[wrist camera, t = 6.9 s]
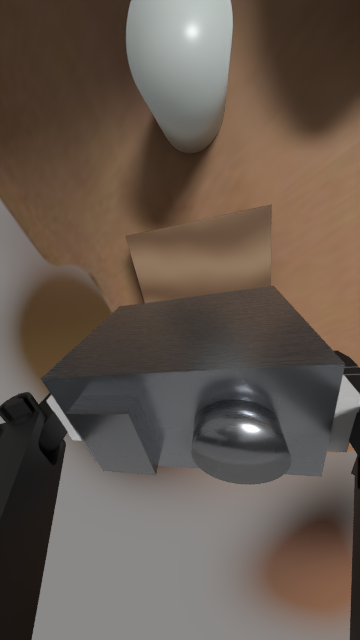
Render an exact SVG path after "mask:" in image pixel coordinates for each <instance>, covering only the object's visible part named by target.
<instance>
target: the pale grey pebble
mask: <svg viewBox="0 0 360 640" xmlns="http://www.w3.org/2000/svg"><path fill="white" fill-rule="evenodd" d="M232 31H233V16H232V5H231V0H131V2H130V6H129V11H128V17H127V26H126V48H127V56H128V62H129V66H130V70H131V74H132V76H133V79H134V82H135V84H136V86H137V88H138V90H139V92H140V93H141V95H142V97H143V98H144V100H145V102H146V104H147V105H148V107H149V109H150V111H151V112H152V114H153V116H154V117H155V119H156V121H157V123H158V124H159V126H160V128H161V130H162V131H163V133H164V135H165V137H166V138H167V140H168V141H169V143H170V144H171V145H172V146H173V147H174V148H175V149H177V150H179V151H181V152H184V153H196V152H199V151H201V150H203V149H205V148H206V147H207V146H208V145H209V144H210V143H211V142H212V141H213V140H214V139H215V137H216V136H217V134H218V132H219V130H220V127H221V125H222V121H223V118H224V112H225V102H226V92H227V82H228V72H229V62H230V52H231V42H232Z"/></svg>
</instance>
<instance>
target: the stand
mask: <svg viewBox="0 0 360 640" xmlns="http://www.w3.org/2000/svg"><path fill="white" fill-rule="evenodd" d="M271 213H272V205H268V206H263V207H258V208H254V209H249V210H244V211H240V212H235V213H231V214H226V215H221V216H217V217H212V218H207V219H203V220H198V221H193V222H189V223H184V224H180V225H175V226H170V227H166V228H161V229H156V230H152V231H147V232H142V233H138V234H133V235H129V236H126V239H127V243H128V246H129V250H130V253H131V257H132V260H133V264H134V267H135V271H136V274H137V278H138V281H139V285H140V288H141V291H142V295H143V298H144V302H145V303H149V302H156V301H164V300H171V299H179V298H186V297H193V296H201V295H208V294H215V293H223V292H230V291H238V290H245V289H252V288H260V287H267V286H271Z"/></svg>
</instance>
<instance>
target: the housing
mask: <svg viewBox="0 0 360 640" xmlns="http://www.w3.org/2000/svg"><path fill="white" fill-rule="evenodd" d="M344 368H345V363H344V362H343V361H342V360H341V359H340V358H339V357H338V356H337V354H336V353H335V352H334V351H333V350H332V349H331V348H330V347H329V346H328V345H327V344H326V342H325V341H324V340H323V339H322V338H321V337H320V336H319V335H318V334H317V333H316V332H315V330H314V329H313V328H312V327H311V326H310V325H309V324H308V323H307V322H306V321H305V320H304V318H303V317H302V316H301V315H300V314H299V313H298V312H297V311H296V310H295V309H294V308H293V306H292V305H291V304H290V303H289V302H288V301H287V300H286V299H285V298H284V297H283V296H282V294H281V293H280V292H279V291H278V290H277V289H276V288H275V287H274V286H267V287H260V288H252V289H245V290H238V291H230V292H223V293H215V294H208V295H201V296H193V297H186V298H179V299H171V300H164V301H156V302H149V303H142V304H134V305H127V306H120V307H118V308H117V309H116V310H115V311H114V312H113V313H112V314H111V315H110V316H109V317H108V318H106V319H105V320H104V321H103V322H102V323H101V324H100V325H99V326H98V327H97V328H96V329H94V330H93V331H92V332H91V333H90V334H89V335H88V336H87V337H86V338H85V339H84V340H82V341H81V342H80V343H79V344H78V345H77V346H76V347H75V348H74V349H72V351H70V352H69V353H68V354H67V355H66V356H65V357H64V358H63V359H62V360H60V361H59V362H58V363H57V364H56V365H55V366H54V367H53V368H52V369H50V371H48V372H47V373H46V374H45V375H44V376H43V377H42V378H41V379H42V381H43V383H44V384H45V386H46V387H47V389H48V390H49V392H50V393H51V395H52V396H53V398H54V399H55V401H56V402H57V404H58V405H59V407H60V408H61V410H62V411H63V413H64V414H65V416H66V417H67V419H68V420H69V422H70V423H71V425H72V426H73V428H74V429H75V431H76V432H77V434H78V435H79V437H80V438H81V440H82V441H83V443H84V445H85V446H86V448H87V449H88V451H89V452H90V454H91V455H92V457H93V458H94V460H95V461H97V462H98V463H99V465H100V466H101V468H102V469H103V471H112V472H125V473H137V474H151V475H156V473H157V468H158V466H173V467H174V466H175V467H188V468H200V469H202V470H203V471H204V472H206V473H207V474H209V475H211V476H213V477H215V478H218V479H220V480H223V481H227V482H231V483H237V484H261V483H266V482H270V481H273V480H275V479H277V478H279V477H281V476H282V475H284V474H290V475H306V476H322V471H323V467H324V462H325V457H326V452H327V448H328V443H329V438H330V434H331V429H332V424H333V419H334V415H335V410H336V405H337V401H338V396H339V391H340V386H341V382H342V377H343V372H344Z"/></svg>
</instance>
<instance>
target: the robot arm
mask: <svg viewBox="0 0 360 640" xmlns="http://www.w3.org/2000/svg"><path fill="white" fill-rule="evenodd" d="M334 352H335V353H336V354H337V356H338V357H339V358H340V359H341V360H342V361H343V362H344V363H345V368H344V372H343V377H342V382H341V386H340V391H339V396H338V401H337V405H336V410H335V415H334V419H333V424H332V429H331V434H330V438H329V443H328V448H327V451H333V452H347V449H348V446H349V443H351V445H352V447H353V448H354V450H355V451H356V453H357V458H356V461H355V464H354V466H353V470H352V473H351V474H353V475H355V489H354V522H353V553H352V554H353V555H352V556H353V557H352V585H351V619H350V640H360V368H358V365H357V364H356V363H355V362H354V361H353V360H352V359H351V358H350V357H348V356H346V355H344V354H343V353H341V352H339V351H334ZM0 416H1V417H2V418H3V420H4V421H5V422H6V423H3V424H0V640H31V639H32V634H33V628H34V622H35V616H36V611H37V605H38V600H39V594H40V588H41V583H42V577H43V571H44V566H45V560H46V555H47V548H48V543H49V537H50V531H51V526H52V520H53V515H54V509H55V504H56V498H57V492H58V487H59V481H60V475H61V469H62V464H63V458H64V453H65V447H66V443H65V441H64V440H63V438H64V437H65V435H66V434H67V432H68V434H69V435H70V437H71V438H72V440H81V438H80V437H79V435H78V434H77V432H76V431H75V429H74V428H73V426H72V425H71V423H70V422H69V420H68V419H67V417H66V416H65V414H64V413H63V411H62V410H61V408H60V407H59V405H58V404H57V402H56V401H55V399H54V398H53V396H52V395H51V393H49V394H48V396H47V397H46V398H45V399H44V400H43V401H42V402H41V403H40V404H38V403H37V402H36V400H35V399H34V397H33V396H32V395H31V394H30V393H28V392H25V393H21V394H18V395H16V396H14V397H12V398H10V399H9V400H7V401H6V402H4V403H3V404H2V405H1V406H0Z"/></svg>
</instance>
